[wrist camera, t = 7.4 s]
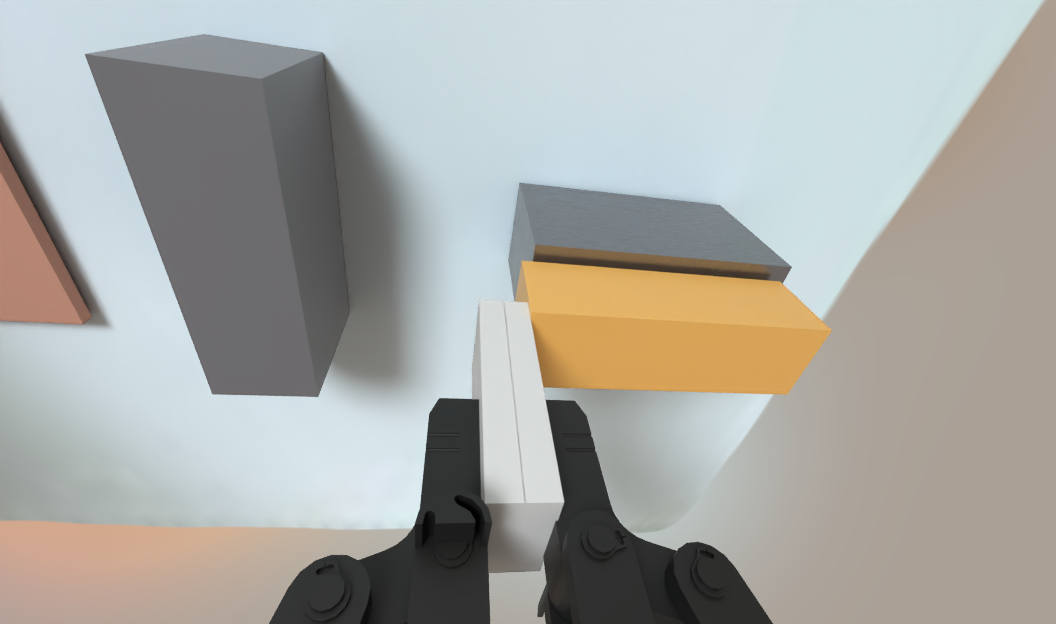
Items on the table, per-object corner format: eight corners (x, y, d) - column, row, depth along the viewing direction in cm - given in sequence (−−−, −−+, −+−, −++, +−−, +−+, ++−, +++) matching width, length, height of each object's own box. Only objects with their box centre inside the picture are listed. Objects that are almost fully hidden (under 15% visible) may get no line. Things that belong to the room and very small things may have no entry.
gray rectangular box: (508, 260, 22) (519, 335, 17) (519, 182, 20) (535, 244, 15) (690, 274, 24) (746, 346, 19) (720, 205, 22) (791, 267, 17)
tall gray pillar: (267, 307, 22) (212, 394, 18) (203, 34, 16) (84, 53, 11) (349, 312, 23) (318, 396, 18) (323, 52, 16) (261, 78, 12)
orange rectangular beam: (510, 329, 17) (517, 386, 14) (521, 260, 15) (531, 312, 13) (745, 341, 18) (787, 394, 16) (779, 281, 17) (831, 330, 14)
